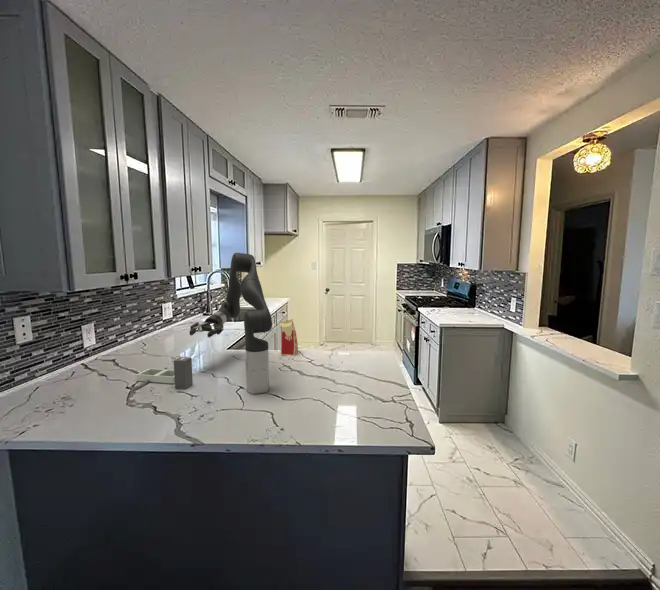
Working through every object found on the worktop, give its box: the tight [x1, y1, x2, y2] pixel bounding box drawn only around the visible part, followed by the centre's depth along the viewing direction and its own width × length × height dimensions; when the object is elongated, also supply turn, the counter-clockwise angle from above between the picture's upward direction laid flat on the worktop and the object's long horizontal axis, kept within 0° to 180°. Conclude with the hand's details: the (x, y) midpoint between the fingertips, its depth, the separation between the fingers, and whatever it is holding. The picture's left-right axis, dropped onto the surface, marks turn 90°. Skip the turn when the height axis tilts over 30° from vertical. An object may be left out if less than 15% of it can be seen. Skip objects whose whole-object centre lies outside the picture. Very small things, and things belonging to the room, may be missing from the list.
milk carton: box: [280, 318, 299, 357], centre depth 190 cm, size 9×9×20 cm
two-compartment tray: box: [132, 368, 175, 391], centre depth 147 cm, size 17×18×3 cm
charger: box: [173, 356, 194, 390], centre depth 143 cm, size 5×5×12 cm
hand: (199, 334), depth 153 cm, fingers open, 8 cm apart
